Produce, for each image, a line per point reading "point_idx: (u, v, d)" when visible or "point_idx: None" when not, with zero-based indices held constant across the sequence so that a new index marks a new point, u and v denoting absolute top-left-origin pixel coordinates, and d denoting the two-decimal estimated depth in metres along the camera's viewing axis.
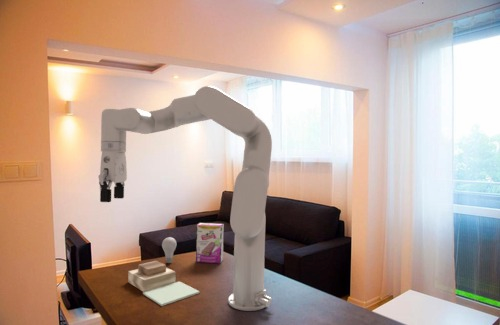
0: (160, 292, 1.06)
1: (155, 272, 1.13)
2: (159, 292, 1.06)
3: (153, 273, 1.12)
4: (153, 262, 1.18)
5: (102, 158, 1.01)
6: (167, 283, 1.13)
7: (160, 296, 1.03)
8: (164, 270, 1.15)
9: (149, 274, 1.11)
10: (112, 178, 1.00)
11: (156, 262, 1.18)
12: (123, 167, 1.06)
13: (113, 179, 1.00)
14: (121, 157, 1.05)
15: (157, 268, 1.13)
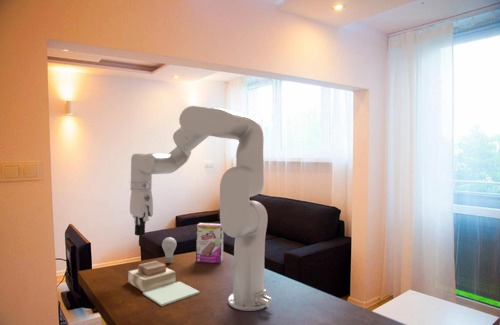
0: (160, 292, 1.06)
1: (155, 272, 1.13)
2: (159, 292, 1.06)
3: (153, 273, 1.12)
4: (153, 262, 1.18)
5: (142, 197, 1.18)
6: (167, 283, 1.13)
7: (160, 296, 1.03)
8: (164, 270, 1.15)
9: (149, 274, 1.11)
10: (151, 213, 1.20)
11: (156, 262, 1.18)
12: None
13: (152, 214, 1.20)
14: None
15: (157, 268, 1.13)
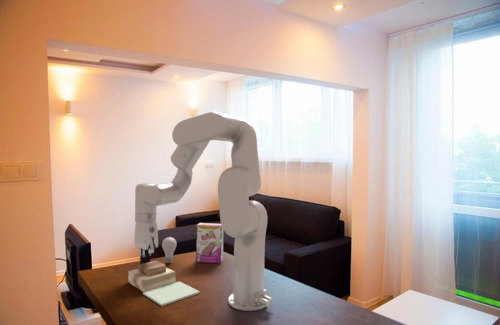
0: (160, 292, 1.06)
1: (155, 272, 1.13)
2: (159, 292, 1.06)
3: (153, 273, 1.12)
4: (153, 262, 1.18)
5: (147, 229, 1.15)
6: (167, 283, 1.13)
7: (160, 296, 1.03)
8: (164, 270, 1.15)
9: (149, 274, 1.11)
10: (157, 245, 1.17)
11: (156, 262, 1.18)
12: None
13: (157, 245, 1.17)
14: None
15: (157, 268, 1.13)
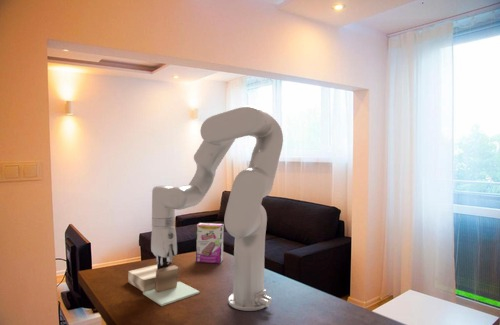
0: (160, 292, 1.06)
1: None
2: (159, 292, 1.06)
3: None
4: (173, 273, 1.08)
5: (166, 235, 1.06)
6: None
7: (160, 296, 1.03)
8: None
9: None
10: (176, 252, 1.08)
11: (175, 274, 1.09)
12: None
13: (176, 253, 1.09)
14: None
15: None
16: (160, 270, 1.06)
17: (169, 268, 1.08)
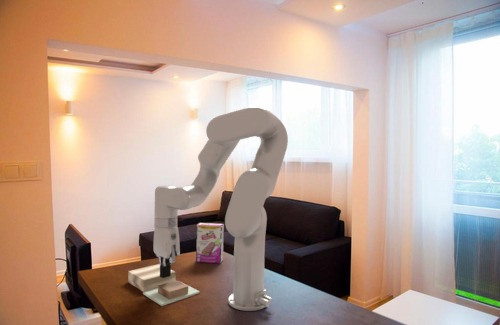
0: None
1: None
2: None
3: None
4: None
5: (169, 236, 1.05)
6: None
7: (160, 296, 1.03)
8: None
9: None
10: (178, 253, 1.07)
11: None
12: None
13: (179, 253, 1.07)
14: None
15: None
16: (171, 294, 1.01)
17: (180, 292, 1.03)
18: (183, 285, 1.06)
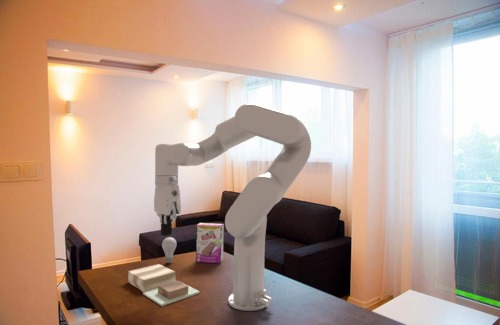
0: None
1: None
2: None
3: None
4: None
5: (169, 192, 1.05)
6: None
7: (160, 296, 1.03)
8: None
9: None
10: (179, 210, 1.07)
11: None
12: None
13: (180, 211, 1.07)
14: None
15: None
16: (171, 294, 1.01)
17: (180, 292, 1.03)
18: (183, 285, 1.06)
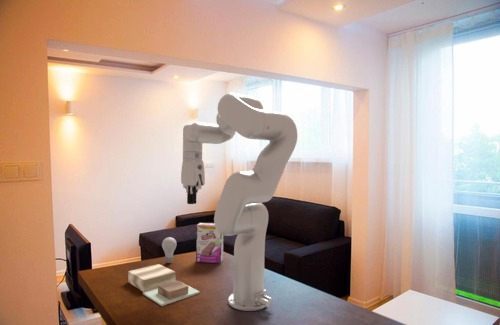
0: None
1: None
2: None
3: None
4: None
5: (196, 166, 1.22)
6: None
7: (160, 296, 1.03)
8: None
9: None
10: (204, 182, 1.24)
11: None
12: None
13: (204, 183, 1.24)
14: None
15: None
16: (171, 294, 1.01)
17: (180, 292, 1.03)
18: (183, 285, 1.06)
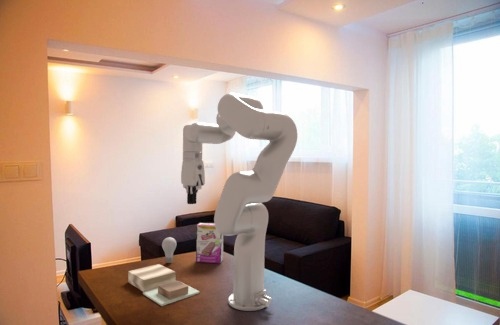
0: None
1: None
2: None
3: None
4: None
5: (196, 166, 1.22)
6: None
7: (160, 296, 1.03)
8: None
9: None
10: (204, 182, 1.24)
11: None
12: None
13: (204, 183, 1.24)
14: None
15: None
16: (171, 294, 1.01)
17: (180, 292, 1.03)
18: (183, 285, 1.06)
